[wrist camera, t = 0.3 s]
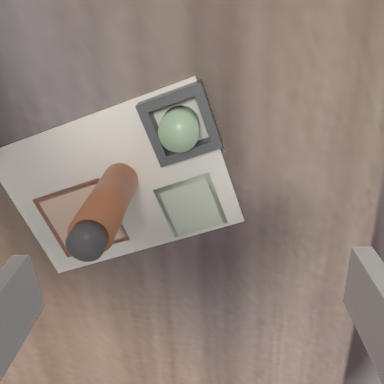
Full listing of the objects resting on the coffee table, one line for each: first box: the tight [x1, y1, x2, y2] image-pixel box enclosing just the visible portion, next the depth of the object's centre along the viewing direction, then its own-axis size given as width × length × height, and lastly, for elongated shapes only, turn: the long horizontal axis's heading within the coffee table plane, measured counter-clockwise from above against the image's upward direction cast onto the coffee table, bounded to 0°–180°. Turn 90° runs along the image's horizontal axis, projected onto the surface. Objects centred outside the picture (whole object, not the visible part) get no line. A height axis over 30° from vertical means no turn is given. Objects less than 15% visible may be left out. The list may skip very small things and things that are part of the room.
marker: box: [65, 163, 138, 262], centre depth 36 cm, size 4×4×14 cm
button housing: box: [135, 80, 223, 168], centre depth 37 cm, size 7×7×2 cm
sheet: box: [0, 76, 244, 273], centre depth 42 cm, size 18×26×1 cm
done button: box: [158, 105, 200, 153], centre depth 36 cm, size 4×4×3 cm
